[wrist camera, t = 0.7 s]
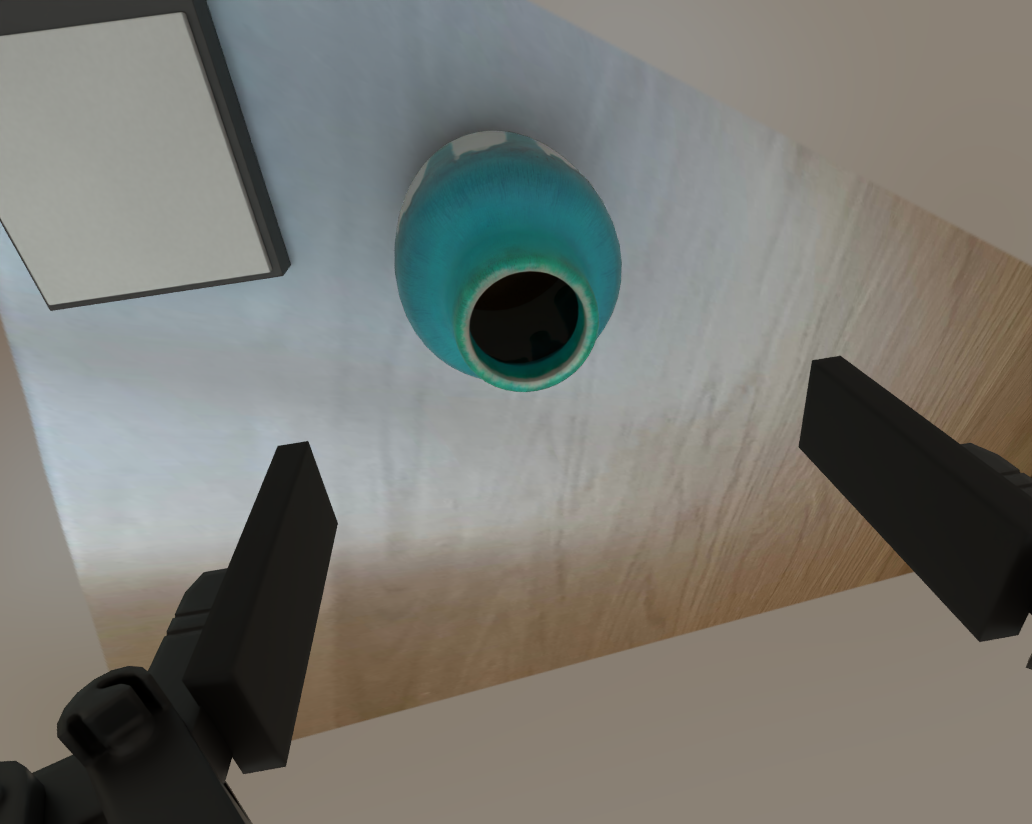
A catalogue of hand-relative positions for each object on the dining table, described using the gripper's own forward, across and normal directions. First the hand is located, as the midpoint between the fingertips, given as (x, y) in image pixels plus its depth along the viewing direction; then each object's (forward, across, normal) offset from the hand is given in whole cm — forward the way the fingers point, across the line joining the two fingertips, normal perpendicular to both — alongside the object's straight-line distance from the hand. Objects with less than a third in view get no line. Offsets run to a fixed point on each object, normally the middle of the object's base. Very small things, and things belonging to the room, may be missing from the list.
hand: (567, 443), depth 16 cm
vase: (+26, 0, 0) cm, 26 cm away
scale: (+26, -20, +6) cm, 34 cm away
